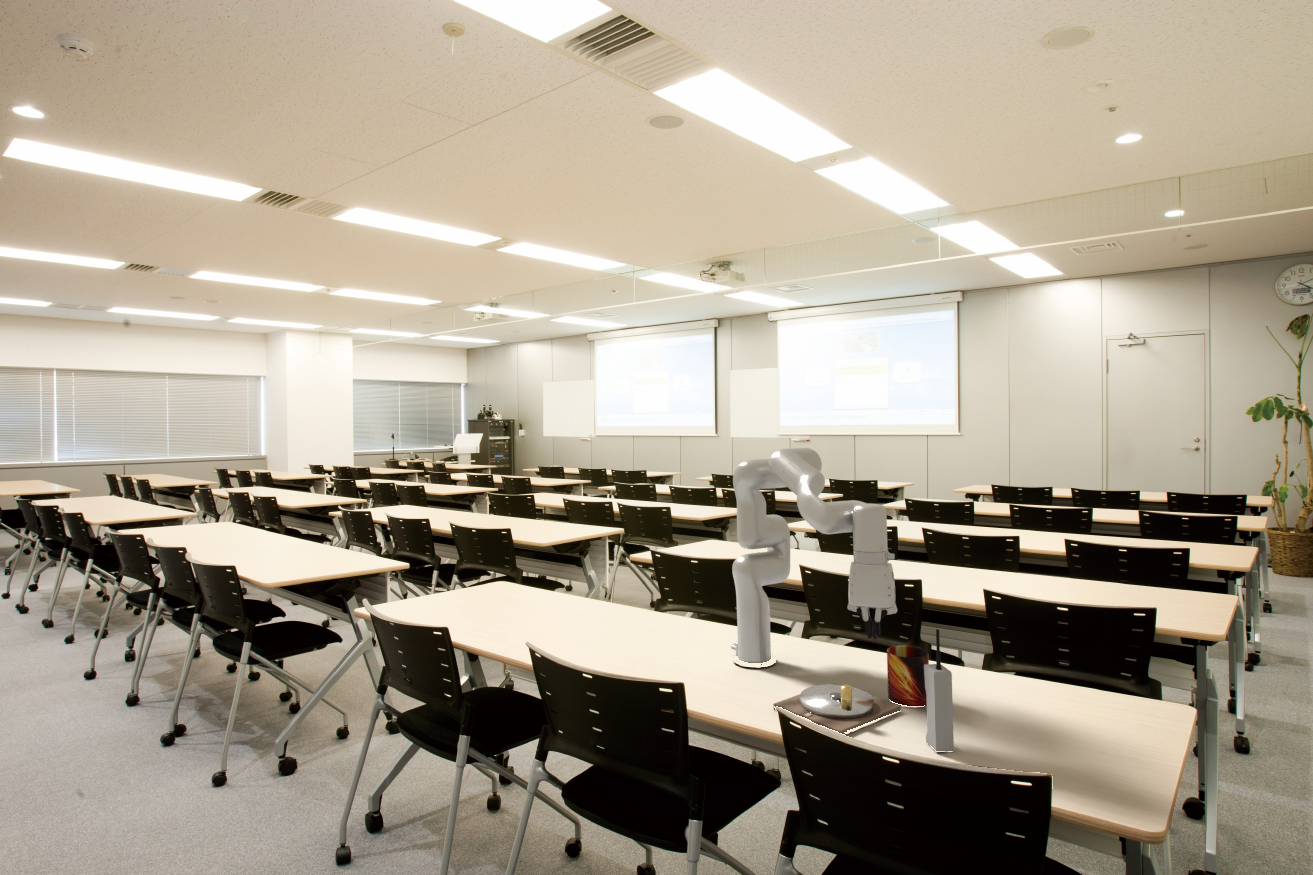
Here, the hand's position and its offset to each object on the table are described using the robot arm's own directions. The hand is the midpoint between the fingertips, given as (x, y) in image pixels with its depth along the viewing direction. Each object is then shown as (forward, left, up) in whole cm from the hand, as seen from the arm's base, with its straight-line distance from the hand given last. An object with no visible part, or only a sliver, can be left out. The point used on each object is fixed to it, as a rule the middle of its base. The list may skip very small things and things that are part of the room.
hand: (872, 637), depth 157 cm
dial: (-9, -2, -18) cm, 20 cm away
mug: (0, +16, -19) cm, 25 cm away
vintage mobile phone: (+17, -1, -19) cm, 26 cm away
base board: (-9, -2, -19) cm, 21 cm away
